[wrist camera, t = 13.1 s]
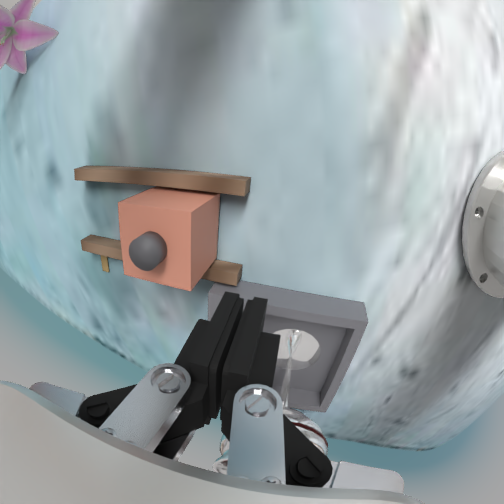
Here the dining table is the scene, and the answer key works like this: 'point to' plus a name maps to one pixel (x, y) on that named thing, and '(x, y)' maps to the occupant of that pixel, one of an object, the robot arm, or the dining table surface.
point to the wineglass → (290, 358)
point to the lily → (20, 35)
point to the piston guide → (164, 178)
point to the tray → (314, 323)
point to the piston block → (169, 235)
